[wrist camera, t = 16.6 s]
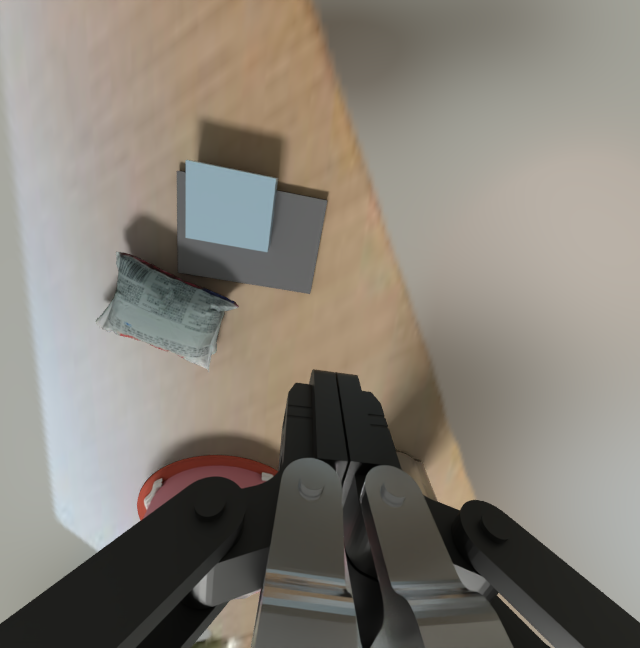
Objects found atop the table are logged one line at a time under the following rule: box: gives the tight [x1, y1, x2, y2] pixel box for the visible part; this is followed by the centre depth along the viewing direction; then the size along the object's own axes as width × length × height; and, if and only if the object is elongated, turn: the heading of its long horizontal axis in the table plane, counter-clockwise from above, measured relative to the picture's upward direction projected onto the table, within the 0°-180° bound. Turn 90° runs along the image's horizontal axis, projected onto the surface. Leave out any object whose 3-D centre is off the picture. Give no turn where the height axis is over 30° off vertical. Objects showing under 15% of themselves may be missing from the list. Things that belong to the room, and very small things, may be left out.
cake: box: [137, 455, 278, 599], centre depth 43 cm, size 25×25×11 cm
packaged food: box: [96, 252, 239, 372], centre depth 30 cm, size 9×12×5 cm
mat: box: [177, 171, 327, 294], centre depth 29 cm, size 13×9×1 cm
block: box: [186, 160, 278, 252], centre depth 27 cm, size 2×7×6 cm
